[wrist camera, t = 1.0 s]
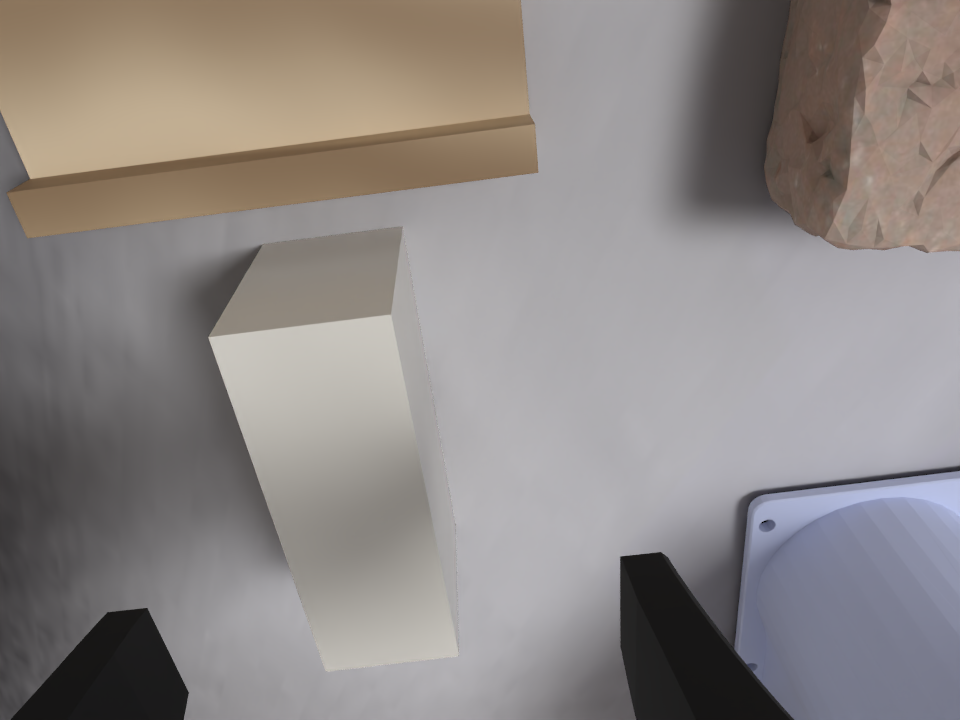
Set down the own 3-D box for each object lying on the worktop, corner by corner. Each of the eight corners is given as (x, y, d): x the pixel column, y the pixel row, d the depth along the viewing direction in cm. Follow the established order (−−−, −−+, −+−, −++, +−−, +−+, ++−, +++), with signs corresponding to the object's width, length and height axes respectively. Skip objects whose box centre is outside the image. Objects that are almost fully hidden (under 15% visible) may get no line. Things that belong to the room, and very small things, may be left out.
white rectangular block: (455, 521, 23) (459, 656, 19) (347, 534, 23) (326, 671, 19) (402, 224, 18) (390, 314, 13) (264, 241, 18) (208, 337, 14)
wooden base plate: (528, 149, 17) (538, 172, 15) (69, 208, 17) (28, 238, 15) (498, -229, 13) (507, -255, 12) (-81, -149, 13) (-158, -163, 12)
